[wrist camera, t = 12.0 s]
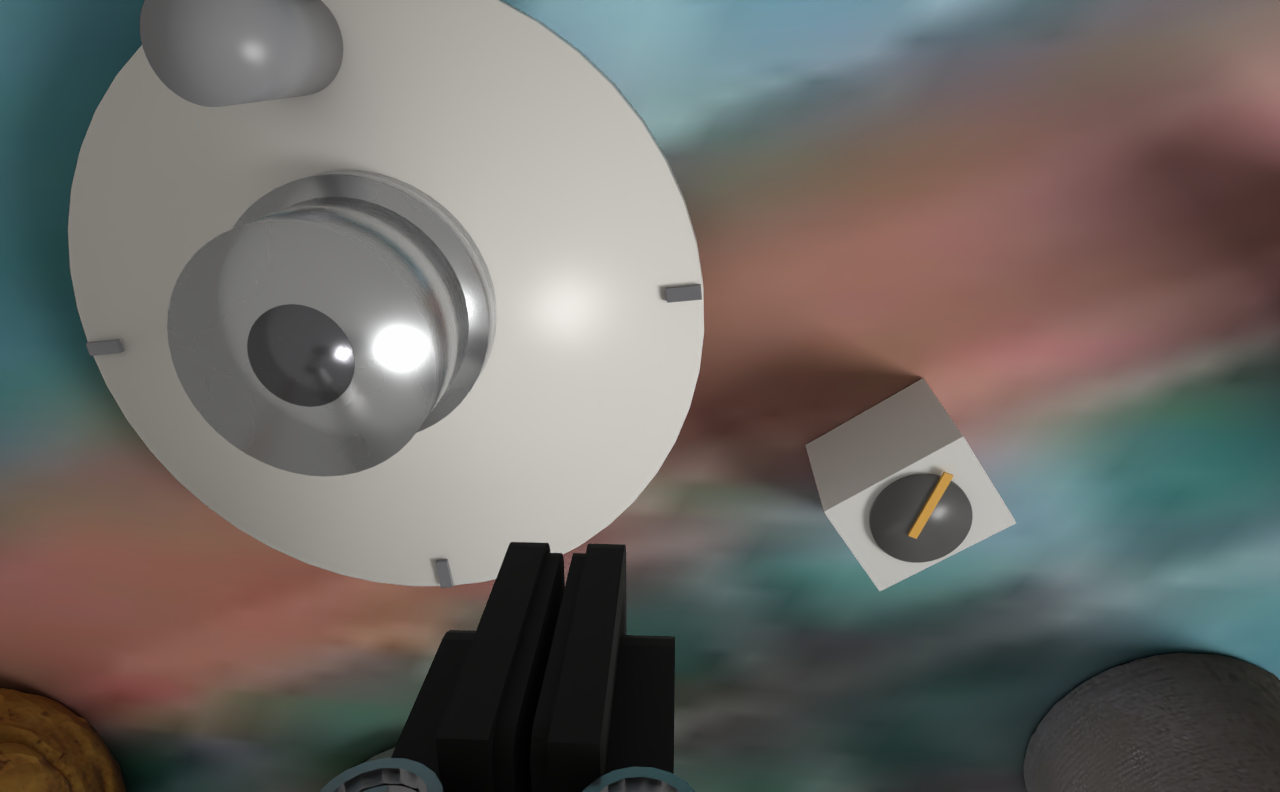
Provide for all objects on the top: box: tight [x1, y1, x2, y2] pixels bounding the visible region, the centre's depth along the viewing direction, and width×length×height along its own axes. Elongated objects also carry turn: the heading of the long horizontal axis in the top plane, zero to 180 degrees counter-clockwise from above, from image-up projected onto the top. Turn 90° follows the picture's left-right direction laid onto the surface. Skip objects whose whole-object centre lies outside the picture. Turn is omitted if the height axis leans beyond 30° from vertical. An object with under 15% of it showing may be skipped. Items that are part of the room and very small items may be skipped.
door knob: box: [167, 170, 497, 477], centre depth 20 cm, size 7×7×4 cm
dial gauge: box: [805, 378, 1016, 591], centre depth 24 cm, size 4×3×4 cm
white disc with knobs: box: [68, 0, 704, 588], centre depth 22 cm, size 17×17×6 cm
